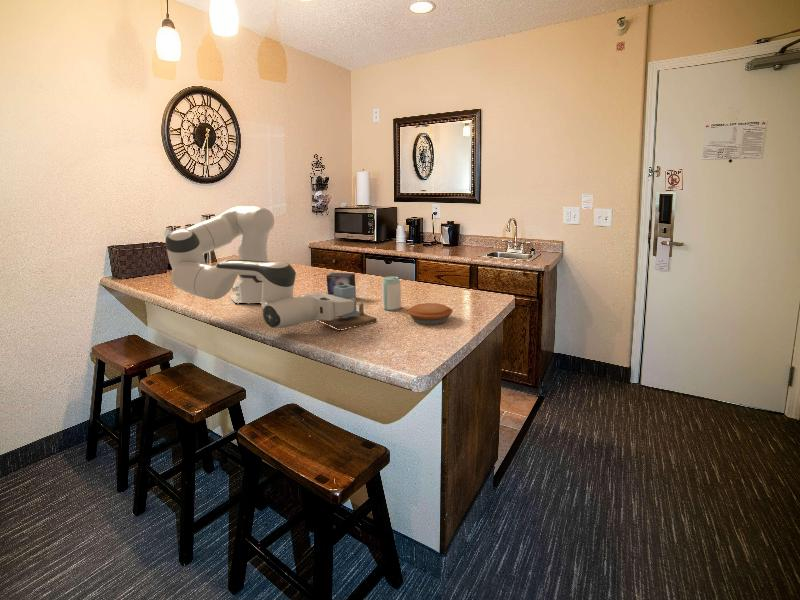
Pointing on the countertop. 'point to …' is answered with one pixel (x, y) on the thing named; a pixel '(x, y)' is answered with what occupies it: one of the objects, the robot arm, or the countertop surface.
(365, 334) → the countertop surface
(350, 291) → the square pen holder
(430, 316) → the pie
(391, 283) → the can
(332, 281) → the small box
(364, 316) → the post base
